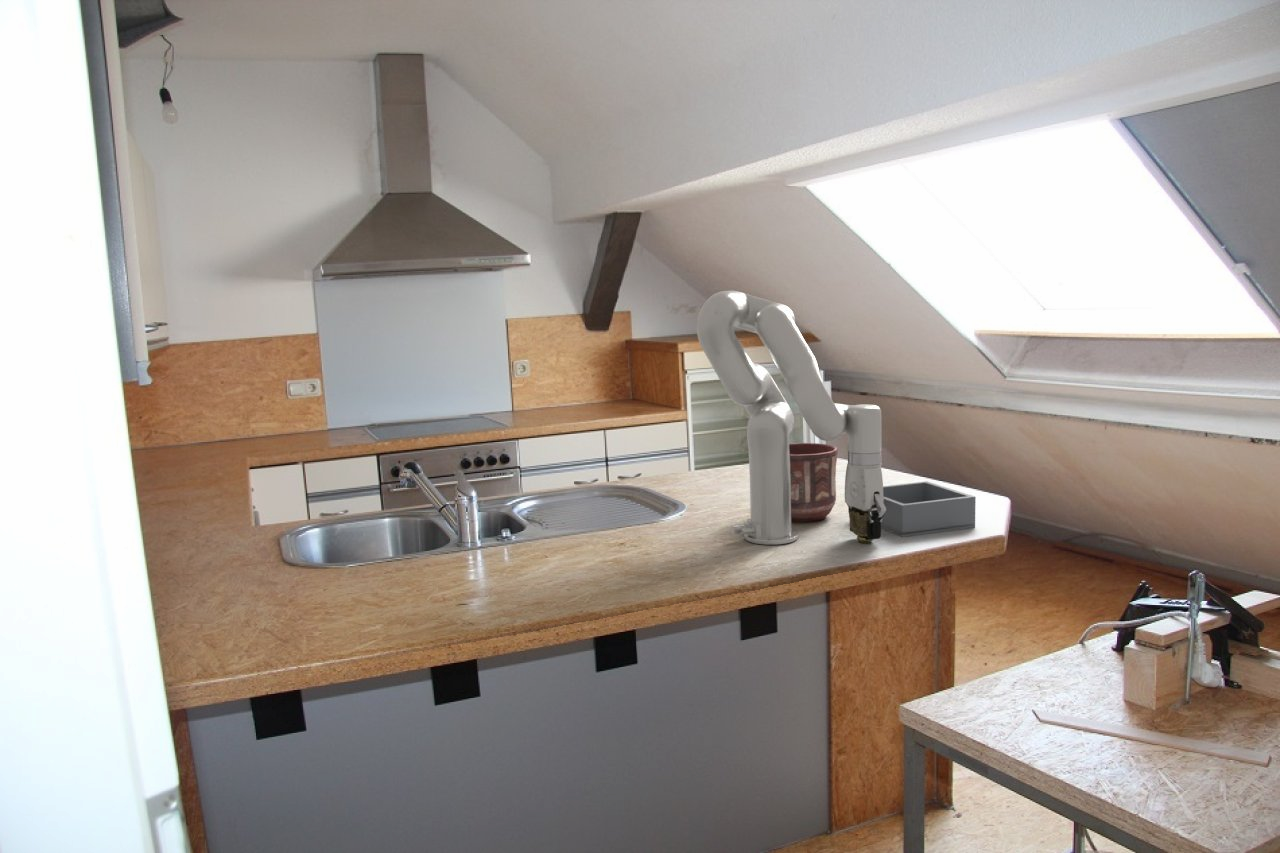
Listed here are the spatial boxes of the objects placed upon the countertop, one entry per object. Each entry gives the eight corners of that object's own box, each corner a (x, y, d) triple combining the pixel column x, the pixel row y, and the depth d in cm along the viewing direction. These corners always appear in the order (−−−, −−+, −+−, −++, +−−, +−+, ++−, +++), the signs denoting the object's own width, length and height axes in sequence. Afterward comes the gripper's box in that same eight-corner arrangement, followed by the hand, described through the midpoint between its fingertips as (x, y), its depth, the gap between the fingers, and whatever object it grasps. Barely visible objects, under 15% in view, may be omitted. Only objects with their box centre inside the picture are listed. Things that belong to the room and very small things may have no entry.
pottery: (818, 529, 235) (817, 456, 232) (755, 520, 245) (754, 451, 243) (849, 513, 249) (848, 445, 246) (788, 506, 259) (787, 440, 257)
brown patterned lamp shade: (844, 544, 221) (844, 510, 220) (853, 536, 227) (853, 503, 226) (877, 547, 217) (877, 513, 216) (884, 539, 224) (885, 505, 223)
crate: (902, 536, 225) (902, 505, 224) (858, 518, 244) (858, 489, 243) (975, 527, 231) (975, 496, 230) (926, 509, 250) (926, 481, 249)
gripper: (831, 454, 226) (832, 528, 229) (870, 467, 210) (870, 546, 213) (859, 451, 229) (859, 524, 231) (900, 463, 212) (900, 542, 215)
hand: (865, 534), depth 222 cm, fingers closed on brown patterned lamp shade, 7 cm apart
